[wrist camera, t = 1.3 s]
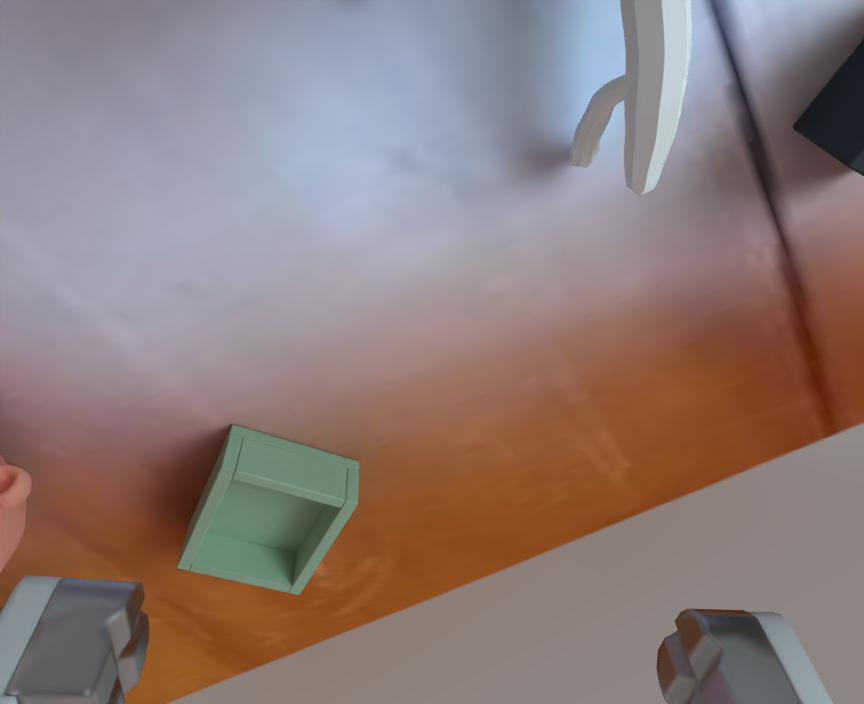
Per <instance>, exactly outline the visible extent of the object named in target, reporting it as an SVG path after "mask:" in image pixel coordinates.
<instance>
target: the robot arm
mask: <svg viewBox="0 0 864 704" xmlns="http://www.w3.org/2000/svg"><path fill="white" fill-rule="evenodd" d="M144 597H145V596H144V591H143V586H142V582H127V581H110V580H93V579H76V578H66V577H47V576H26V575H25V576H24V578H23V579H22V580H21V581H20V582H19V583H18V584H17V585H16V586H15V587H14V588H13V590H12V592H11V594H10V596H9V598H8V599H7V601H6V603H5V605H4V607H3V609H2V610H1V612H0V704H125V699H124V695H125V694H126V693H127V692H129V691H130V690H131V689H132V688H133V687H134V686H135V685H136V684H137V683H138V681H139V678H140V675H141V671H142V668H143V665H144V661H145V656H146V651H147V645H148V639H149V622H148V615H146V614H145V613H144V612H143V611H141V610H140V609H141V606H142V603H143V600H144ZM675 623H676V626H677V629H678V631H676V632H674V633H673V634H671V635H669V636H667V637H666V638H664V640H663V642H662V644H661V646H660V648H659V650H658V657H657V673H658V679H659V684H660V687H661V690H662V694H663V696H664V699H665V700H666V702H667V703H668V704H833V702H832V701H831V699H830V697H829V695H828V694H827V691H826V690H825V688H824V686H823V684H822V682H821V680H820V679H819V677H818V675H817V673H816V671H815V670H814V668H813V666H812V664H811V662H810V660H809V659H808V657H807V655H806V653H805V651H804V649H803V648H802V646H801V644H800V642H799V640H798V638H797V637H796V635H795V633H794V631H793V629H792V628H791V626H790V624H789V622H788V621H787V620H786V619H785V618H784V617H783V616H782V615H781V614H778V613H773V612H746V611H744V610H714V609H686V610H684V611H682V612H680V614H679V616H678V617H677V619H676V620H675Z"/></svg>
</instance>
